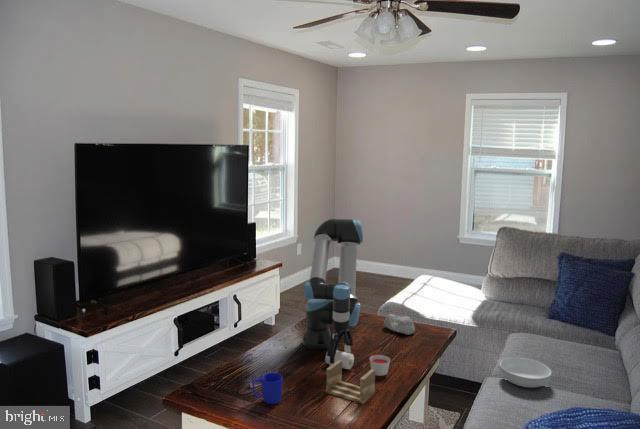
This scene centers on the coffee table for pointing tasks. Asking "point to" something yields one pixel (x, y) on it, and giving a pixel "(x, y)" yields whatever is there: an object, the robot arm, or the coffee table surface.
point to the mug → (270, 387)
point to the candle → (380, 364)
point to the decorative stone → (399, 324)
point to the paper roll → (342, 359)
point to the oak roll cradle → (346, 389)
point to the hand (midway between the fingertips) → (340, 364)
